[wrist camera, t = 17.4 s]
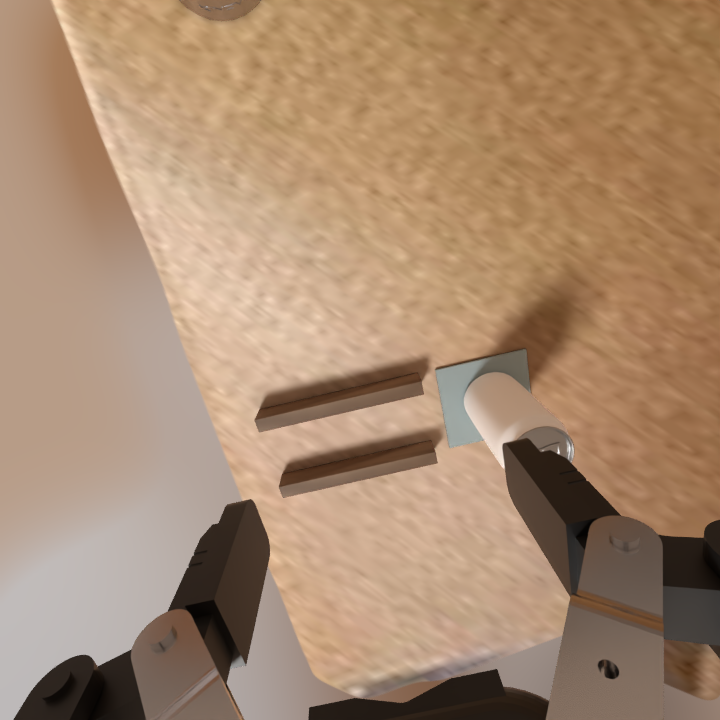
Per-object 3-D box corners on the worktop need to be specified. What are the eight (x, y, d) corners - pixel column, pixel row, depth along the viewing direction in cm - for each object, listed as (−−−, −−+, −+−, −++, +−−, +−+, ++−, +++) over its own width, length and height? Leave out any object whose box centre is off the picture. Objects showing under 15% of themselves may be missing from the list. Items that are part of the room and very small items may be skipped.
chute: (259, 409, 44) (254, 420, 42) (417, 372, 44) (421, 381, 41) (285, 484, 48) (282, 498, 45) (432, 451, 47) (437, 463, 45)
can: (458, 378, 44) (499, 432, 32) (516, 364, 44) (577, 414, 32) (466, 428, 46) (507, 496, 35) (522, 415, 46) (581, 479, 34)
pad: (435, 369, 44) (435, 370, 43) (525, 348, 43) (526, 349, 43) (449, 446, 47) (449, 448, 47) (533, 427, 47) (534, 429, 46)
